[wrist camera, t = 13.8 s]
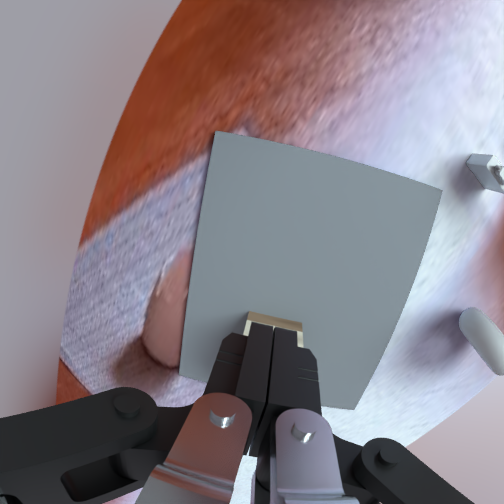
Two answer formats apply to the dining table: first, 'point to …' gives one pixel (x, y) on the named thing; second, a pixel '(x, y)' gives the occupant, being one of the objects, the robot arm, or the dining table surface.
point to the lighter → (487, 171)
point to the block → (275, 324)
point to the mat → (304, 256)
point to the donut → (484, 338)
